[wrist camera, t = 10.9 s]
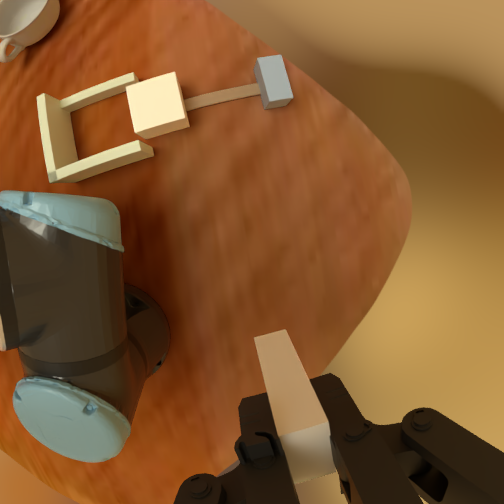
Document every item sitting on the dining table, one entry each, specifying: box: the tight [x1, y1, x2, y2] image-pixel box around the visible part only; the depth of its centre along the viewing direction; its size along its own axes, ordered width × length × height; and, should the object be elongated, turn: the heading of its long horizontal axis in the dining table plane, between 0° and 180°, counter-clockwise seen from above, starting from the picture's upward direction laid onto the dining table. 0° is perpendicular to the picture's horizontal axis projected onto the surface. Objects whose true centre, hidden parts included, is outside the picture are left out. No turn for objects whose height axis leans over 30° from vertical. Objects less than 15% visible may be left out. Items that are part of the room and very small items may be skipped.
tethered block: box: [126, 55, 293, 139], centre depth 36 cm, size 19×6×6 cm, turn 104°
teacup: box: [0, 0, 60, 63], centre depth 29 cm, size 14×11×8 cm
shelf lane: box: [37, 72, 154, 183], centre depth 35 cm, size 12×11×8 cm
